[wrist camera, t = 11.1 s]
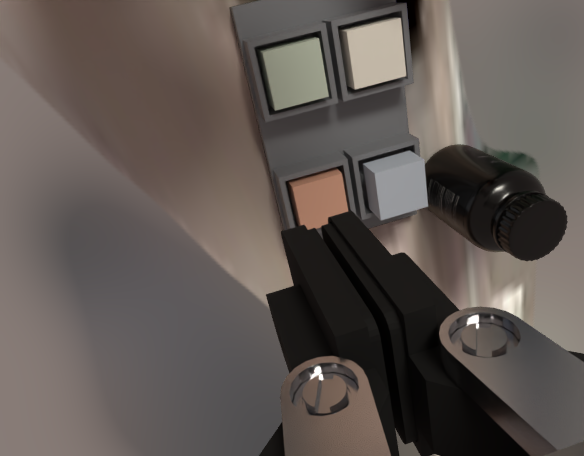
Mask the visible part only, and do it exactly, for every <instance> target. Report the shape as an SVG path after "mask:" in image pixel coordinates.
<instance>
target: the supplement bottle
mask: <svg viewBox="0 0 584 456" xmlns="http://www.w3.org/2000/svg"><path fill="white" fill-rule="evenodd" d="M425 176H426V187H427V199H428V207H426V208H427V209H428V210H429V211H430V212H432V213H433V214H434V215H435V216H437V217H438V218H439V219H441V220H442V221H443V222H445V223H446V224H447V225H449V226H450V227H451V228H453V229H454V230H455V231H457V232H458V233H459V234H461V235H462V236H463V237H465V238H466V239H467V240H469V241H470V242H471V243H473V244H474V245H476V246H477V247H479V248H481V249H483V250H485V251H490V252H504V251H505V252H507V253H509V254H511V255H512V256H514V257H515V258H518V259H520V260H525V261H529V260H530V261H533V260H538V259H539V258H542V257H544V256H545V255H547V254H549V253H550V252H551V251H552V250H554V248H555V247H556V246H557V245H558V244H559V242H560V241H561V240H562V237H563V235H564V234H565V230H566V227H567V226H566V225H567V215H566V211H565V210H564V207H563V206H561V205H560V203H558V202H557V201H555V200H553V199H551V198H549V197H548V196H547V195H546V194H545V190H544V188H543V186H542V184H541V183H540V181H539V180H538V179H537V178H536V177H535V176H534V175H532V174H531V173H529V172H527V171H525V170H523V169H521V168H518V167H516V166H514V165H512V164H509V163H507V162H505V161H503V160H501V159H498V158H496V157H494V156H492V155H489V154H487V153H485V152H483V151H480V150H478V149H476V148H473V147H471V146H468V145H461V144H459V145H451V146H448V147H445V148H443V149H441V150H439V151H438V152H437V153H435V154H434V155H433V156H432V157H431V158H430V159H429V160H428V161H427V163H426V164H425Z"/></svg>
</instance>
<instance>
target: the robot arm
mask: <svg viewBox="0 0 584 456" xmlns="http://www.w3.org/2000/svg"><path fill="white" fill-rule="evenodd" d="M321 231H322V236H323V239H322V237H321V236H320V234H319V233H318V231H317V230H316V228H312V229H309V230H308V229H307V228H306V226H305V225H301V226H297V227H294V228H291V229H287V230H284V231H281V235H282V239H283V244H284V248H285V252H286V256H287V260H288V264H289V268H290V272H291V276H292V280H293V284H294V286H292V287H289V288H286V289H282V290H279V291H276V292H273V293H270V294H266V296H267V300H268V304H269V308H270V311H271V314H272V318H273V321H274V325H275V329H276V332H277V335H278V339H279V342H280V345H281V348H282V351H283V355H284V358H285V361H286V364H287V367H288V370H289V373H290V374H289V375H288V376H287V377H286V379H285V381H284V383H283V385H282V387H281V396H280V399H281V412H282V423H281V424H280V426H279V427H278V429H277V430H276V432H275V433H274V435H273V436H272V438H271V439H270V440H269V442H268V443H267V445H266V446H265V448H264V449H263V451H262V452H261V454H260V455H259V456H399V451H398V445H397V438H396V431H395V428H396V430H397V432H398V434H399V436H400V438H401V440H402V441H403V443H404V444H408V443H411V442H413V443H414V444H415V446H416V448H417V450H418V452H419V453H420V455H421V456H430V455H432V454H437V455H440V456H584V354H582V353H577V352H571V351H567V350H565V349H564V348H562V347H561V346H559V345H558V344H556V343H555V342H553V341H552V340H550V339H549V338H548V337H546V336H545V335H543V334H542V333H540V332H539V331H537V330H536V329H534V328H533V327H531V326H530V325H529V324H527V323H526V322H524V321H523V320H521V319H520V318H518V317H517V316H515V315H513V314H511V313H509V312H507V311H503V310H500V309H496V308H490V307H473V308H466V309H463V310H459V309H458V308H457V307H456V306H455V305H454V304H453V303H452V302H451V301H450V300H449V299H448V298H447V296H446V295H445V294H444V293H443V292H442V291H441V290H440V289H439V288H438V287H437V286H436V285H435V284H434V283H433V282H432V281H431V280H430V279H429V277H428V276H427V275H426V274H425V273H424V272H423V271H422V270H421V269H420V268H419V267H418V266H417V265H416V264H415V263H414V262H413V261H412V260H411V258H410V257H409V256H408V255H406V254H405V253H398V254H395V255H391V254H390V253H389V252H388V251H387V250H386V248H385V247H384V246H383V245H382V244H381V243H380V242H379V240H378V239H377V238H376V237H375V236H374V235H373V234H372V233H371V231H370V230H369V229H368V228H367V227H366V226H365V225H364V224H363V222H362V221H361V220H360V219H359V218H358V217H357V216H356V215H355V213H354V212H353V211H348V212H344V213H341V214H338V215H334V216H331V217H328V224H326V225H322V226H321Z"/></svg>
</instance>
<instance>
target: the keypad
mask: <svg viewBox="0 0 584 456" xmlns="http://www.w3.org/2000/svg"><path fill="white" fill-rule="evenodd" d="M230 10H231V15H232V19H233V23H234V27H235V31H236V35H237V39H238V44H239V48H240V52H241V56H242V60H243V64H244V68H245V73H246V77H247V81H248V85H249V89H250V93H251V97H252V102H253V106H254V110H255V114H256V118H257V122H258V126H259V131H260V135H261V139H262V143H263V147H264V151H265V156H266V160H267V164H268V168H269V172H270V176H271V180H272V185H273V189H274V193H275V197H276V201H277V205H278V209H279V214H280V218H281V222H282V226H283V230H287V229H291V228H294V227H297V226H298V224H297V222H296V221H295V217H294V212H293V208H292V204H291V199H290V195H289V190H288V186H287V182H286V181H288V180H291V179H295V178H298V177H302V176H305V175H309V174H313V173H316V172H320V171H323V170H327V169H330V168H334V167H336V168H337V169H338V170H339V171H340V172H341V173H342V177H343V183H344V189H345V195H346V201H347V207H348V211H353V212H354V213H355V215H356V216H357V217H358V218H359V219H360V220H361V221H362V222H363V224H364V225H365V226H366V227H367V228H368V229H369V228H372V227H376V226H379V225H382V224H386V223H389V222H392V221H396V220H399V219H402V218H406V217H409V216H412V215H416V214H417V210H415V211H411V212H408V213H405V214H401V215H398V216H395V217H391V218H388V219H385V220H380V219H379V218H378V217H377V216H376V215H375V214H374V213H373V212H372V211H371V210H370V209H369V203H368V196H367V189H366V183H365V176H364V169H363V164H364V163H367V162H371V161H374V160H378V159H381V158H385V157H388V156H392V155H395V154H399V153H402V152H406V151H411V152H413V153H415V154H416V155H418V156H419V157H420V149H419V139H418V138H416V137H415V136H413V135H411V134H409V128H408V118H407V108H406V98H405V88H404V85H408V84H412V83H414V82H413V71H412V59H411V48H410V37H409V26H408V14H407V3H396V0H258V1H254V2H250V3H245V4H241V5H237V6H233V7H230ZM384 17H395V18H401V25H402V36H403V46H404V57H405V67H406V76H405V77H401V78H397V79H393V80H389V81H386V82H382V83H378V84H374V85H371V86H367V87H363V88H359V89H353V88H351V87H348V86H346V80H345V73H344V67H343V60H342V53H341V47H340V40H339V34H338V29H340V28H344V27H348V26H352V25H356V24H360V23H364V22H368V21H372V20H376V19H380V18H384ZM308 36H311V37H316V38H319V41H320V47H321V53H322V59H323V65H324V71H325V77H326V83H327V89H328V95H329V97H325V98H321V99H318V100H314V101H310V102H306V103H302V104H299V105H295V106H291V107H287V108H284V109H280V110H276V111H275V110H274V109H273V108H272V107H271V106H270V105H269V102H268V98H267V93H266V89H265V84H264V80H263V76H262V71H261V67H260V62H259V58H258V54H257V49H259V48H263V47H267V46H271V45H275V44H279V43H283V42H287V41H291V40H295V39H300V38H304V37H308ZM316 230H317V231H318V233H319V234H320V236H321V237H322V239H323V236H322V231H321V227H320V228H317V229H316Z"/></svg>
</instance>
